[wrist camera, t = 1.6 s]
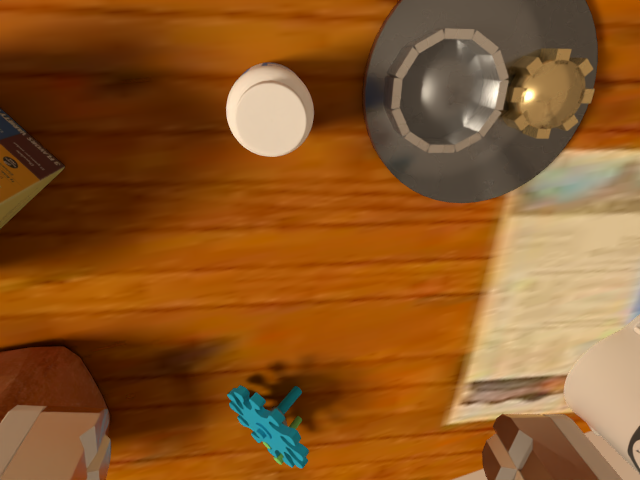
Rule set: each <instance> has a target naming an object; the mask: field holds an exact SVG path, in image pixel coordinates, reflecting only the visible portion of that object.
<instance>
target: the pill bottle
mask: <svg viewBox="0 0 640 480" xmlns="http://www.w3.org/2000/svg"><path fill="white" fill-rule="evenodd" d="M226 115H227V121H228V125H229V127H230V130H231V132H232V133H233V135H234V137H235V138H236V139H237V141H238V142H239V143H240V144H241V145H242V146H243V147H245V148H246V149H247V150H249V151H251V152H253V153H255V154H258V155H261V156H268V157H276V156H282V155H285V154H288V153H290V152H292V151H294V150H295V149H297V148H298V147H299V146H300V145H301V144H302V143H303V142H304V141H305V139H306V138H307V136H308V135H309V133H310V130H311V128H312V124H313V119H314V107H313V102H312V98H311V95H310V93H309V91H308V89H307V88H306V86H305V84H304V83H303V82H302V81H301V79H300V78H299V77H298V76H297V75H296V74H295V73H294V72H293V71H292V70H290V69H289V68H287V67H285V66H283V65H281V64H277V63H261V64H258V65H255V66H253V67H251V68H249V69H248V70H247V71H245V72H244V73H243V74H242V76H241V77H240V78H239V79H238V80H237V81H236V82H235V84H234V85H233V87H232V88H231V91H230V93H229V96H228V99H227V105H226Z"/></svg>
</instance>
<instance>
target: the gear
mask: <svg viewBox="0 0 640 480" xmlns="http://www.w3.org/2000/svg"><path fill="white" fill-rule="evenodd" d="M301 393H302V391H301V389H300V388H299V387H297V386H294V388H293V389H292V390H291V391H290V392H289V393H288V395H287V396H286V397H285V398H284V399H283V400H282V402H281V403H280V404H279V405H278V406H277V407H272V409H271V410H270V411H268V410H266V409H265V408H264V407H263V405H264V404H265V403H266V401H265V399H264V398H263V397H261V396H260V395H259V394H258V393H255V394H254V395H253V396H252V397H251V398H250V397H249V395H250V393H249V391H248V390H247V389H246V388H245V387H243V386H241V385H240V386H239V387H238V388H233V389H232V390H231V391H230V392H229V393H228V394H227V396H228V397H229V398H230V399H231V400H232V401H231V402H230V403H229V405H230V407H231V409H232V410H234V411H235V412H237V413H238V414H239V416H238V417H237V418H238V420H239V421H240V423H241V424H242V425H243V426H245V427H248V428H250V429H251V430H253V432H252V434H251V435H252V436H253V438H254V439H255V440H256V441H257V442H258V443H260V442H261V441H263V444H264V445H265V446H266V447H267V448H268V451H269V452H270V453H271V454H272V455H273V456H274V459H275V460H276V462H277V463H279V464H280V465H281V464H282V463H283V462H285V463H286V464H287V465H289V466H291V467H292V468H293V466H294V465H296V466H297V467H299V468H303V467H304V466H305V465H306V463H307V462H308V459H307V458H306V456H307V454H308V453H309V450H308V449H307V448H306V447H305V446H304V445H302V444H300V443H299V441H300V439H301V437H300V435H299V433H298V431H297V430H295V429H296V428H297V427H298V426H299V424H300V423H301V422H302V418H301V417H299V416H297V417H296V418H295V420H294V421H293V422H292V423H291V425H290V426H289V427H288V426H287V422H286V419H285V416H284V414H285V413H286V412H287V410H288V409H289V408H290V407H291V406H292V404H293V403H294V402H295V401H296V400H297V398H298V397H299V396H300V395H301Z"/></svg>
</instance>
